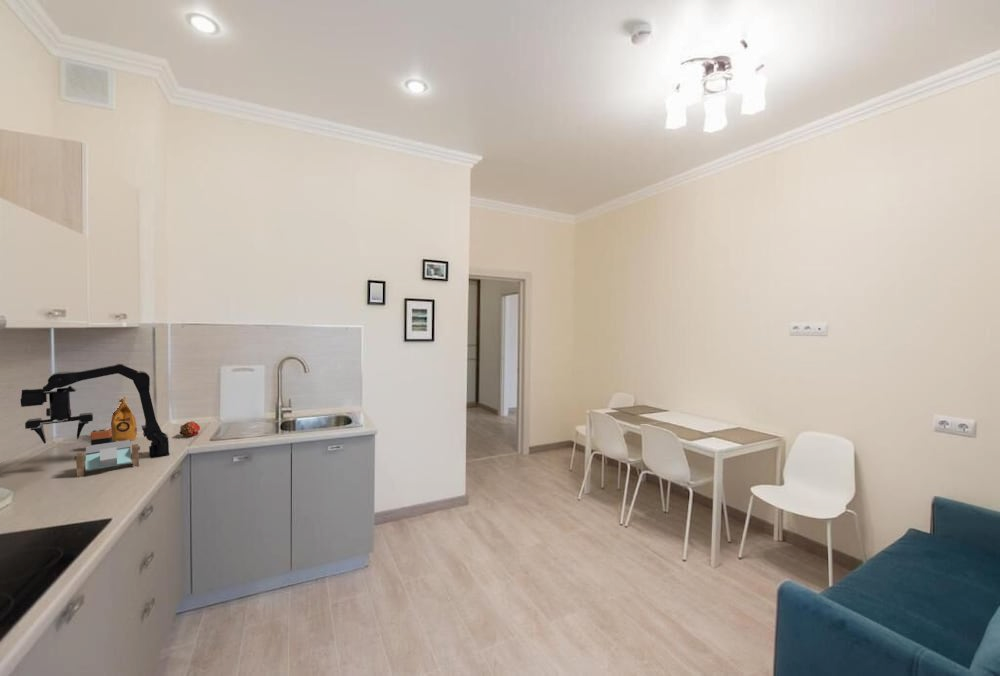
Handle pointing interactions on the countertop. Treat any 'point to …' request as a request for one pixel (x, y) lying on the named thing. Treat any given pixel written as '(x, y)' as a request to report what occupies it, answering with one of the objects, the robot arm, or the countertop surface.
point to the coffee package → (123, 423)
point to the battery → (101, 436)
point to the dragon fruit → (189, 429)
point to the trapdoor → (94, 450)
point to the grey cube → (108, 456)
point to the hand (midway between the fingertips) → (61, 440)
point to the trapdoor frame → (81, 463)
